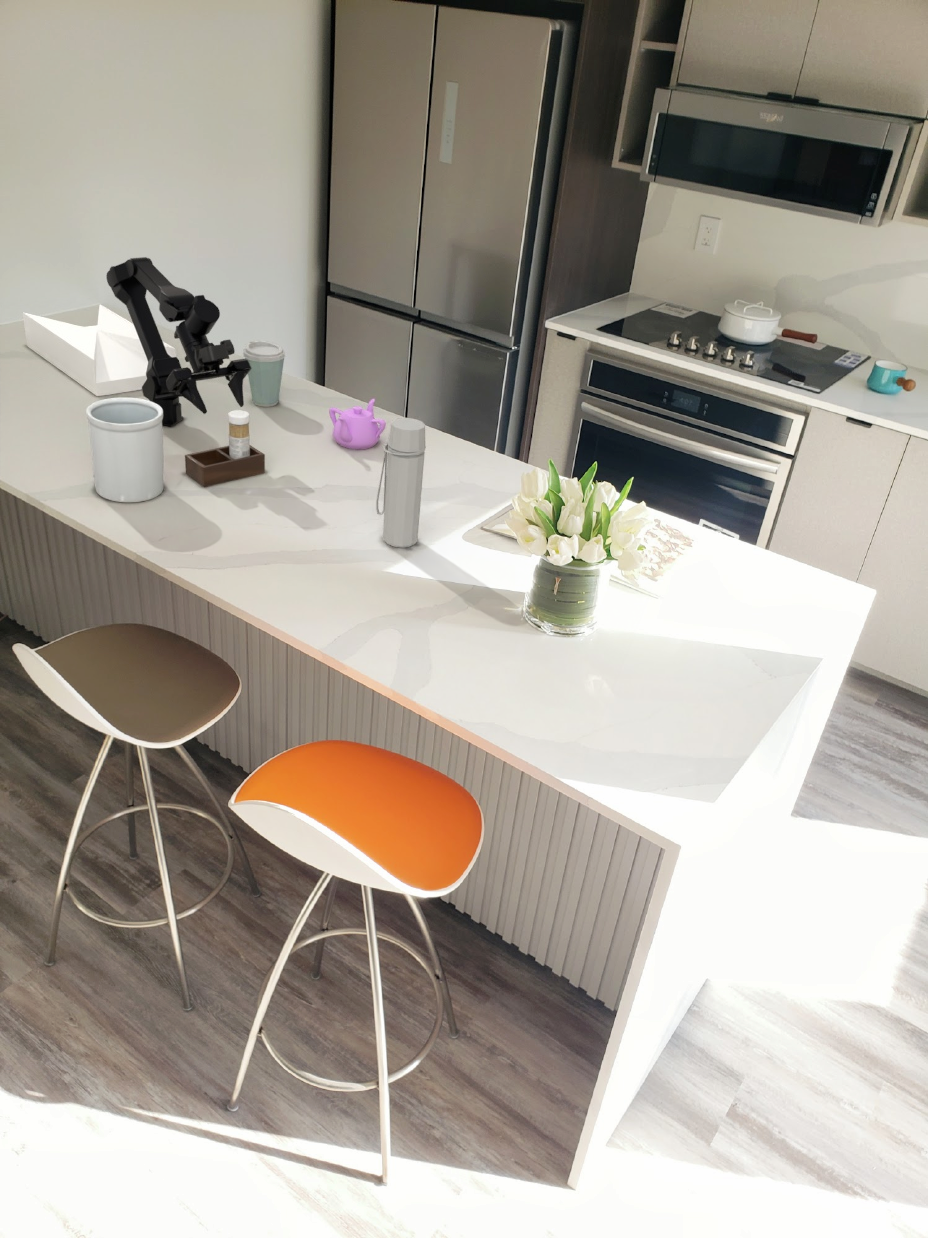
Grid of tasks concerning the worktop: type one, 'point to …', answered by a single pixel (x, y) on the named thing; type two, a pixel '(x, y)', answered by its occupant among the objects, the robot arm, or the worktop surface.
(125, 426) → the utensil holder
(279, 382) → the disposable coffee cup
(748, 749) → the worktop surface
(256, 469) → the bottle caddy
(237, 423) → the sprinkles bottle
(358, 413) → the teapot
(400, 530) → the water bottle
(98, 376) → the white shallow tray
